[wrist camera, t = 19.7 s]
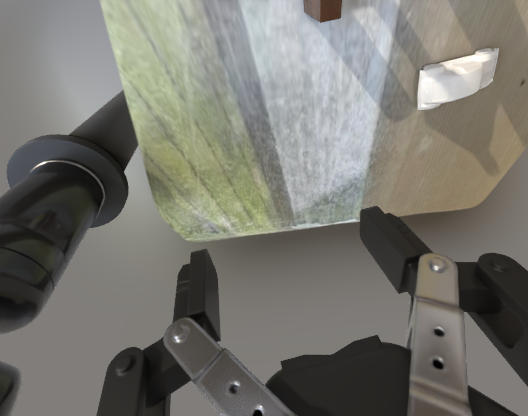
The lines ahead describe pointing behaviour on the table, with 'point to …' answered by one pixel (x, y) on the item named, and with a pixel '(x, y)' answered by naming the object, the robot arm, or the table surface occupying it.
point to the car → (456, 78)
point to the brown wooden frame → (323, 9)
